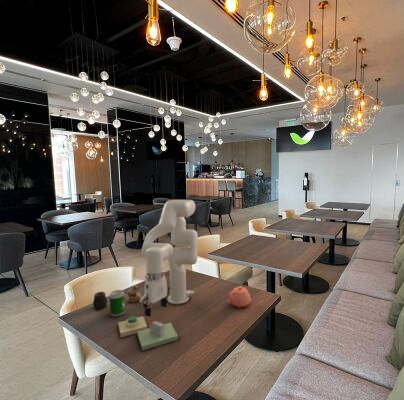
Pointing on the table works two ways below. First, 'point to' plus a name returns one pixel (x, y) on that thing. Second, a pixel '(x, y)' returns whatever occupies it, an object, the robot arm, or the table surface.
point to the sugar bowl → (239, 297)
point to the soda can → (117, 303)
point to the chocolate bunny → (134, 294)
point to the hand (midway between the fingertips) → (156, 311)
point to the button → (132, 319)
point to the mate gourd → (99, 300)
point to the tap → (157, 328)
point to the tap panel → (156, 337)
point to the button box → (132, 326)
